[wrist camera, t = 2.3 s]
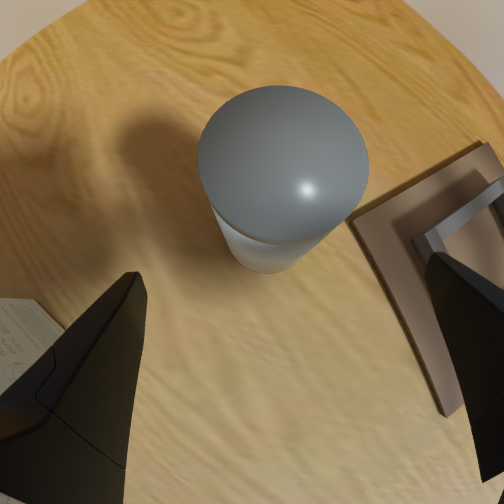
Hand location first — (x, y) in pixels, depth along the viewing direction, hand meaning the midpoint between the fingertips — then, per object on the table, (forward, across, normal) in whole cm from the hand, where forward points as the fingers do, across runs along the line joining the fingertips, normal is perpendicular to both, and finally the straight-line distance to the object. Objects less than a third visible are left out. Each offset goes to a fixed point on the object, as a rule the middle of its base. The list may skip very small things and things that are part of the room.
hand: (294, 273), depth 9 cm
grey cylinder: (+10, 0, +5) cm, 11 cm away
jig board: (+7, -16, +8) cm, 19 cm away
